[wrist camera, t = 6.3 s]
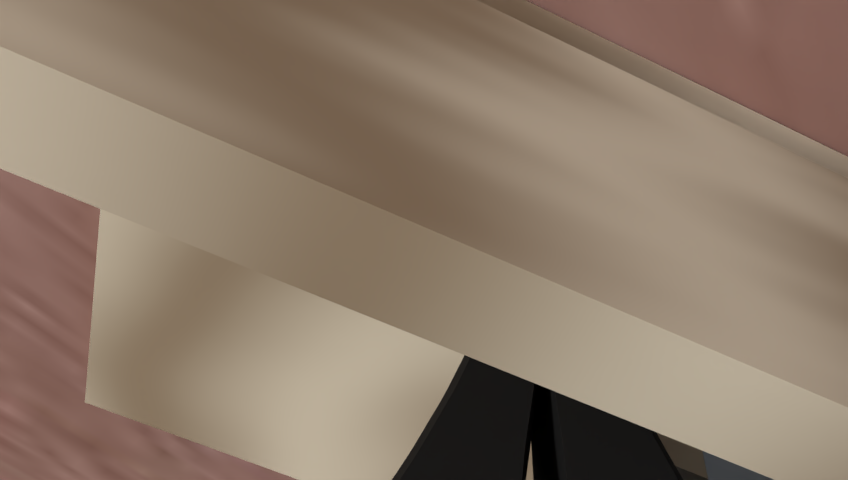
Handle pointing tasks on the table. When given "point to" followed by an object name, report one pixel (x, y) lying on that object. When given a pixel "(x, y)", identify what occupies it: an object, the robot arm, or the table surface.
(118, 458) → the table surface
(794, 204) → the wooden open box
